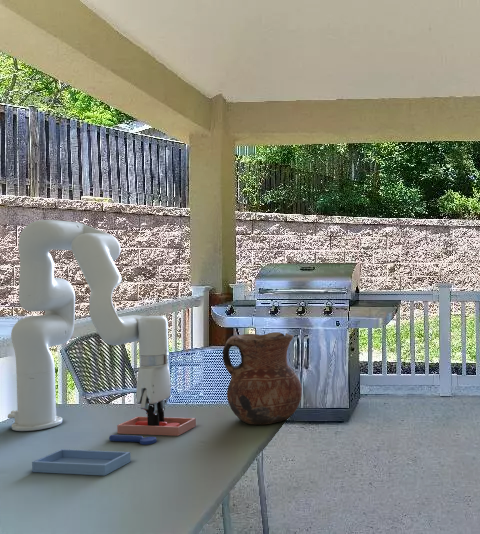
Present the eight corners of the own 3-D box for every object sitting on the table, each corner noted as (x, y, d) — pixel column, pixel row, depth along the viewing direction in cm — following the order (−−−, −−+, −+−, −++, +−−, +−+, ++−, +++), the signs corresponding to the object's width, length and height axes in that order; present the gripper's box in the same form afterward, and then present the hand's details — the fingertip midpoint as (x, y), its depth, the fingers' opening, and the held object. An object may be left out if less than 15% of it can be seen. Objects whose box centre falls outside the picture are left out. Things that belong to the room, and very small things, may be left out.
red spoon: (131, 428, 168) (131, 423, 167) (140, 424, 171) (139, 419, 171) (174, 430, 165) (174, 424, 165) (182, 426, 169) (182, 420, 169)
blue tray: (32, 472, 136) (31, 461, 136) (62, 458, 145) (61, 448, 145) (104, 475, 133) (104, 465, 133) (130, 461, 142) (130, 451, 142)
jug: (277, 406, 193) (276, 328, 192) (317, 417, 178) (315, 332, 177) (213, 420, 177) (211, 335, 177) (250, 434, 162) (248, 341, 162)
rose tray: (117, 433, 165) (117, 425, 165) (137, 424, 174) (137, 416, 174) (178, 435, 162) (178, 427, 162) (196, 426, 171) (195, 418, 171)
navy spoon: (104, 443, 157) (104, 437, 157) (114, 438, 161) (114, 432, 161) (150, 445, 154) (150, 438, 154) (159, 440, 158) (159, 434, 158)
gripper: (157, 356, 177) (159, 418, 177) (124, 365, 161) (126, 434, 161) (181, 356, 175) (183, 419, 175) (149, 365, 160) (151, 435, 160)
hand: (156, 426), depth 168 cm, fingers closed on red spoon, 1 cm apart
